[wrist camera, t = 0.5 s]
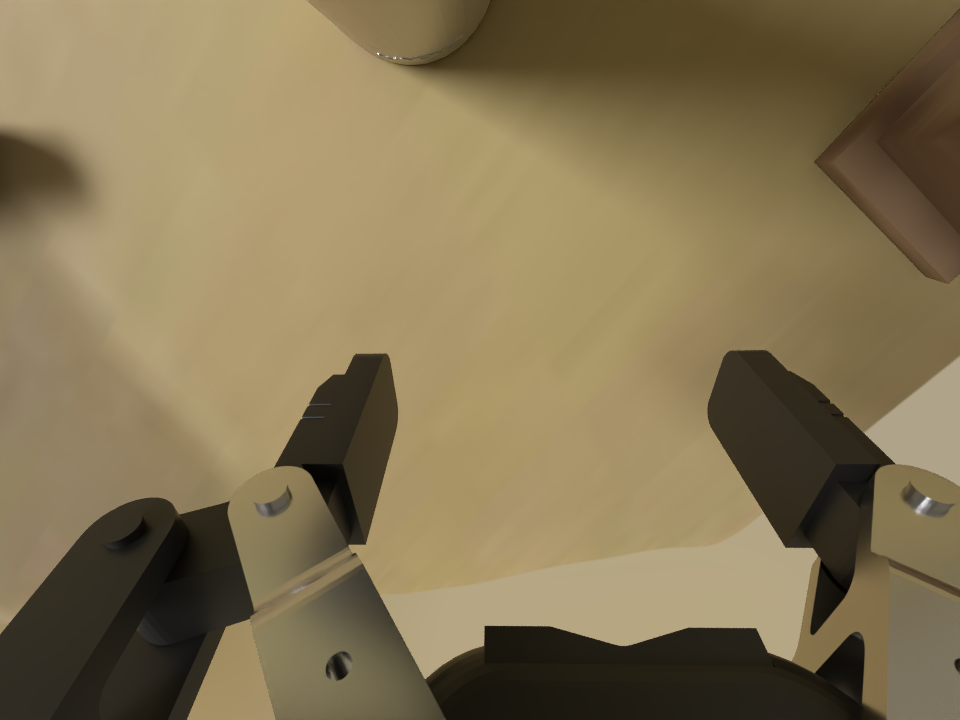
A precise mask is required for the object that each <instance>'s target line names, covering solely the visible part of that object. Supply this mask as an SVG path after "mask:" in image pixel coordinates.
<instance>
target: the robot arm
mask: <svg viewBox="0 0 960 720" xmlns="http://www.w3.org/2000/svg"><path fill="white" fill-rule="evenodd" d="M307 1H308V2H309V3H310V4H311V5H312V6H314V7H315V8H316V9H317V10H318V11H319V12H321V13H322V14H323V15H324V16H325V17H326V18H327V19H329V20H330V21H331V22H332V23H333V24H334V25H335V26H337V27H338V28H339V29H340V30H341V31H342V32H344V33H345V34H346V35H347V36H348V37H349V38H351V39H352V40H353V41H354V42H355V43H357V44H358V45H360V46H361V47H362V48H364V49H365V50H367V51H368V52H369V53H371V54H372V55H374V56H377V57H379V58H381V59H384V60H386V61H388V62H392V63H398V64H403V65H418V64H427V63H430V62H433V61H436V60H439V59H442V58H444V57H446V56H447V55H449V54H450V53H452V52H453V51H455V50H456V49H458V48H460V46H461V45H462V44H463V43H464V42H465V41H466V40H467V39H468V38H469V37H470V36H471V35H472V34H473V33H474V31H475V30H476V28H477V27H478V25H479V23H480V22H481V20H482V19H483V17H484V16H485V14H486V11H487V8H488V6H489V3H490V1H491V0H307ZM309 404H310V406H308V407H307V409H306V410H305V412H304V414H303V416H302V417H303V418H302V419H300V421H299V423H298V425H297V427H296V429H295V430H294V432H293V434H292V436H291V438H290V439H289V441H288V443H287V445H286V447H285V449H284V450H283V452H282V454H281V456H280V458H279V460H278V461H277V463H276V465H275V467H274V468H272V469H268V470H266V471H263V472H261V473H259V474H257V475H255V476H254V477H252V478H250V479H249V480H248V481H246V482H245V483H244V484H243V485H242V486H241V487H240V488H239V489H238V490H237V491H236V492H235V494H234V495H233V497H232V499H231V500H230V501H229V502H226V503H223V504H219V505H215V506H211V507H207V508H203V509H199V510H195V511H192V512H188V513H184V514H180V515H179V514H178V512H177V511H176V509H175V507H174V506H173V504H172V503H171V502H169V501H168V500H165V499H162V498H144V499H139V500H135V501H132V502H129V503H126V504H124V505H122V506H120V507H118V508H116V509H114V510H112V511H110V512H109V513H107V514H105V515H104V516H102V517H101V518H100V519H98V520H97V521H96V522H94V523H93V524H92V525H91V526H90V527H89V528H88V529H87V530H86V531H85V532H84V533H83V534H82V535H81V537H80V538H79V539H78V540H77V541H76V543H75V544H74V545H73V546H72V548H71V549H70V550H69V551H68V552H67V554H66V555H65V556H64V557H63V558H62V560H61V561H60V562H59V563H58V565H57V566H56V567H55V568H54V569H53V571H52V572H51V573H50V574H49V576H48V577H47V578H46V579H45V580H44V582H43V583H42V584H41V585H40V587H39V588H38V589H37V590H36V591H35V593H34V594H33V595H32V596H31V598H30V599H29V600H28V601H27V602H26V604H25V605H24V606H23V607H22V609H21V610H20V611H19V612H18V613H17V615H16V616H15V617H14V618H13V620H12V621H11V622H10V623H9V625H8V626H7V627H6V628H5V629H4V631H3V632H2V633H1V634H0V720H187V717H188V715H189V713H190V711H191V708H192V706H193V703H194V701H195V699H196V696H197V694H198V692H199V689H200V687H201V684H202V682H203V679H204V677H205V675H206V673H207V670H208V668H209V665H210V663H211V660H212V658H213V656H214V654H215V651H216V649H217V646H218V644H219V642H220V639H221V637H222V635H223V632H224V630H225V627H226V626H229V625H232V624H235V623H239V622H242V621H245V620H248V619H250V621H251V627H252V632H253V635H254V640H255V643H256V647H257V651H258V654H259V658H260V662H261V666H262V669H263V673H264V677H265V681H266V684H267V688H268V692H269V696H270V699H271V703H272V707H273V710H274V714H275V718H276V720H960V487H959V486H958V485H956V484H954V483H953V482H951V481H949V480H947V479H946V478H944V477H941V476H939V475H937V474H935V473H932V472H929V471H927V470H923V469H920V468H917V467H913V466H908V465H897V464H895V463H894V462H893V461H892V460H891V459H890V458H889V457H888V456H886V454H885V453H884V452H883V451H882V450H881V449H880V448H879V447H877V446H876V445H875V444H874V443H873V442H872V441H871V440H870V439H869V438H868V437H867V436H866V435H865V434H864V433H863V432H862V431H861V430H860V429H859V428H858V427H857V426H856V425H855V424H854V423H853V422H852V421H851V420H850V419H849V418H847V417H844V416H843V413H842V412H841V411H840V410H839V409H838V408H837V407H836V406H835V405H834V404H830V400H829V399H828V398H827V397H826V396H825V395H824V394H823V393H822V392H821V391H820V390H819V389H817V388H816V387H815V386H814V385H813V384H811V383H810V382H808V381H806V380H805V379H803V378H801V377H799V376H798V375H796V374H794V373H792V372H791V371H788V370H787V369H786V368H785V367H784V366H783V365H782V364H781V363H780V362H779V361H778V360H777V359H776V358H775V357H774V356H773V355H772V354H771V353H769V352H768V351H765V350H745V351H729V352H728V353H727V354H726V355H725V356H724V358H723V361H722V364H721V367H720V370H719V373H718V375H717V378H716V381H715V384H714V387H713V390H712V393H711V396H710V399H709V402H708V420H709V423H710V426H711V428H712V430H713V431H714V433H715V435H716V436H717V438H718V439H719V441H720V443H721V444H722V446H723V448H724V449H725V451H726V452H727V454H728V456H729V457H730V459H731V460H732V462H733V464H734V465H735V467H736V468H737V470H738V472H739V473H740V475H741V477H742V478H743V480H744V481H745V483H746V485H747V486H748V488H749V489H750V491H751V493H752V494H753V496H754V497H755V499H756V501H757V502H758V504H759V506H760V507H761V509H762V510H763V512H764V514H765V515H766V517H767V518H768V520H769V522H770V523H771V525H772V526H773V528H774V530H775V531H776V533H777V534H778V536H779V538H780V539H781V541H782V543H783V544H784V546H785V547H786V548H813V549H814V550H815V551H816V553H817V554H818V557H817V559H816V560H815V562H814V563H813V565H812V568H811V574H810V580H809V586H808V592H807V597H806V603H805V609H804V615H803V621H802V627H801V633H800V639H799V643H798V647H797V650H796V653H795V655H794V658H793V660H792V662H791V661H789V660H786V659H784V658H781V657H779V656H776V655H773V654H770V653H767V650H766V648H765V646H764V644H763V642H762V640H761V638H760V636H759V633H758V631H757V630H756V628H686V629H683V630H679V631H676V632H673V633H670V634H666V635H663V636H660V637H657V638H653V639H650V640H646V641H643V642H640V643H637V644H633V645H629V646H618V645H614V644H610V643H606V642H603V641H600V640H596V639H593V638H589V637H585V636H582V635H578V634H575V633H571V632H568V631H564V630H560V629H557V628H554V627H549V626H548V627H546V626H545V627H543V626H485V640H484V641H485V642H484V646H482V647H479V648H476V649H472V650H470V651H468V652H465V653H463V654H461V655H459V656H457V657H455V658H453V659H452V660H450V661H449V662H447V663H445V664H444V665H442V666H441V667H440V668H438V669H437V670H436V671H435V672H433V673H432V674H431V675H430V676H429V677H427V678H426V679H424V677H423V675H422V674H421V672H420V670H419V668H418V666H417V664H416V662H415V660H414V659H413V657H412V655H411V653H410V651H409V649H408V648H407V646H406V644H405V642H404V640H403V638H402V636H401V634H400V633H399V631H398V629H397V627H396V625H395V623H394V621H393V619H392V618H391V616H390V614H389V612H388V610H387V608H386V607H385V605H384V603H383V601H382V599H381V597H380V595H379V593H378V591H377V590H376V588H375V586H374V584H373V582H372V580H371V578H370V576H369V575H368V573H367V571H366V569H365V567H364V565H363V564H362V562H361V560H360V559H359V557H358V556H357V554H356V553H354V554H352V552H351V550H350V548H349V547H348V545H349V544H350V545H366V541H367V538H368V534H369V530H370V526H371V523H372V519H373V515H374V511H375V508H376V504H377V500H378V496H379V493H380V489H381V485H382V481H383V477H384V474H385V470H386V466H387V462H388V459H389V455H390V451H391V447H392V444H393V440H394V436H395V432H396V428H397V422H398V405H397V399H396V393H395V387H394V381H393V375H392V369H391V363H390V359H389V356H388V354H355V355H354V357H353V359H352V361H351V363H350V365H349V367H348V369H347V371H346V373H345V375H333V376H331V377H330V378H329V379H328V380H327V381H326V382H324V383H323V384H322V385H321V386H320V387H318V389H317V390H316V392H315V394H314V396H313V398H312V399H311V401H310V403H309Z"/></svg>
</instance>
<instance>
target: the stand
mask: <svg viewBox="0 0 960 720" xmlns="http://www.w3.org/2000/svg"><path fill="white" fill-rule="evenodd" d="M815 163H816V164H817V165H818V166H819V167H820V168H821V169H822V170H823V171H824V172H825V173H826V174H827V175H828V176H829V177H830V179H831V180H832V181H833V182H834V183H835V184H836V185H837V186H838V187H839V188H840V189H841V190H842V191H843V192H844V193H845V194H846V195H847V196H848V197H849V198H850V199H851V200H852V201H853V202H854V203H855V204H856V205H857V206H858V207H859V208H860V209H861V210H862V211H863V212H864V213H865V215H866V216H867V217H868V218H869V219H870V220H871V221H872V222H873V223H874V224H875V225H876V226H877V227H878V228H879V229H880V230H881V231H882V232H883V233H884V234H885V235H886V236H887V237H888V238H889V239H890V240H891V241H892V242H893V243H894V244H895V245H896V246H897V247H898V248H899V249H900V251H901V252H902V253H903V254H904V255H905V256H906V257H907V258H908V259H909V260H910V261H911V262H912V263H913V264H914V265H915V266H916V267H917V268H918V269H919V270H920V271H921V272H922V273H923V274H924V275H925V276H926V277H928V278H931V279H935V280H938V281H942V282H945V283H950V282H951V281H952V280H953V279H954V278H956V277H957V276H958V275H959V274H960V9H959V10H958V11H957V12H956V13H955V14H954V15H953V17H952V18H951V19H950V20H949V21H948V22H947V23H946V24H945V25H944V26H943V27H942V28H941V29H940V30H939V31H938V32H937V33H936V34H935V35H934V37H933V38H932V39H931V40H930V41H929V42H928V43H927V44H926V45H925V46H924V47H923V48H922V49H921V50H920V51H919V52H918V53H917V54H916V56H915V57H914V58H913V59H912V60H911V61H910V62H909V63H908V64H907V65H906V66H905V67H904V68H903V69H902V70H901V71H900V72H899V73H898V74H897V76H896V77H895V78H894V79H893V80H892V81H891V82H890V83H889V84H888V85H887V86H886V87H885V88H884V89H883V90H882V91H881V92H880V93H879V94H878V96H877V97H876V98H875V99H874V100H873V101H872V102H871V103H870V104H869V105H868V106H867V107H866V108H865V109H864V110H863V111H862V112H861V113H860V114H859V116H858V117H857V118H856V119H855V120H854V121H853V122H852V123H851V124H850V125H849V126H848V127H847V128H846V129H845V130H844V131H843V132H842V133H841V134H840V136H839V137H838V138H837V139H836V140H835V141H834V142H833V143H832V144H831V145H830V146H829V147H828V148H827V149H826V150H825V151H824V152H823V153H822V155H821V156H820V157H819V158H818V159H817V160H816V161H815Z"/></svg>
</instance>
